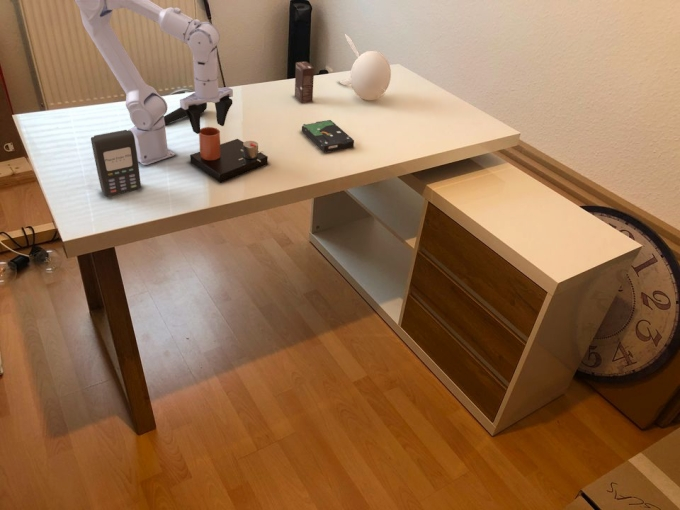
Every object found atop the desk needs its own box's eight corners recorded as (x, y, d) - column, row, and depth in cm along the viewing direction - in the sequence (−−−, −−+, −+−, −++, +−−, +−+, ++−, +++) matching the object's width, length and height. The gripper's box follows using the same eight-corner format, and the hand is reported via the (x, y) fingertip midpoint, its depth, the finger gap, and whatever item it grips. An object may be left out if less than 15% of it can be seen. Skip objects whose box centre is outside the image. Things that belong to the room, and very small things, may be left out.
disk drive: (354, 148, 165) (329, 127, 174) (355, 140, 163) (330, 118, 172) (323, 154, 160) (300, 131, 169) (324, 145, 158) (301, 123, 168)
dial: (240, 154, 149) (239, 142, 147) (251, 150, 152) (251, 138, 150) (249, 160, 147) (249, 148, 145) (261, 156, 150) (261, 143, 148)
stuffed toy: (407, 61, 182) (362, 28, 194) (375, 70, 175) (330, 35, 188) (396, 111, 195) (355, 77, 208) (366, 121, 189) (325, 85, 202)
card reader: (105, 199, 131) (93, 142, 122) (99, 191, 134) (88, 135, 125) (143, 190, 136) (135, 134, 127) (137, 182, 138) (128, 127, 129)
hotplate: (223, 184, 142) (222, 175, 140) (190, 163, 149) (189, 154, 147) (271, 165, 152) (272, 156, 150) (239, 145, 159) (239, 137, 157)
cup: (208, 162, 145) (207, 138, 140) (196, 154, 147) (194, 130, 143) (224, 156, 148) (223, 132, 144) (212, 148, 151) (211, 125, 146)
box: (293, 96, 190) (295, 62, 182) (305, 95, 192) (307, 61, 184) (300, 103, 186) (302, 68, 178) (312, 102, 188) (315, 67, 180)
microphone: (157, 139, 163) (210, 113, 174) (157, 125, 158) (211, 99, 170) (145, 128, 164) (198, 103, 175) (145, 113, 160) (199, 89, 171)
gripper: (190, 88, 128) (194, 141, 136) (240, 76, 137) (240, 126, 145) (173, 79, 131) (177, 131, 140) (222, 67, 140) (224, 117, 149)
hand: (208, 128), depth 143 cm, fingers open, 7 cm apart
